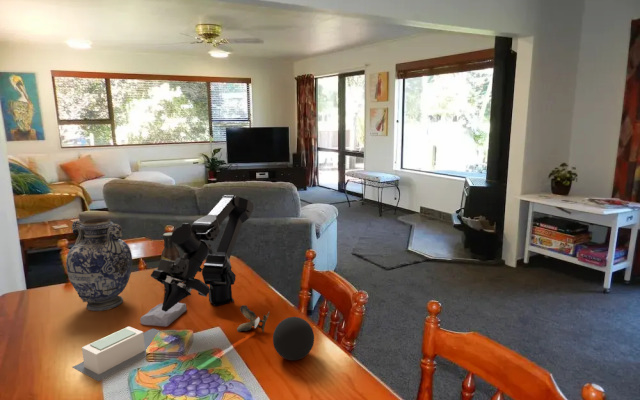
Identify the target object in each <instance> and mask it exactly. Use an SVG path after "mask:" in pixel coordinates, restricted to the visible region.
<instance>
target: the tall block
mask: <svg viewBox="0 0 640 400" xmlns="http://www.w3.org/2000/svg"><path fill="white" fill-rule="evenodd" d="M143 333H144V331H142V330H140V329H136V328H134V327H132V326H126V327H125V328H122V329H120V330H118V331H115V332H113V333H111V334H109V335H107V336H104V337H102V338H99V339H97V340H95V341H93V342H91V343H88V344H86V345H84V346H82V347H81V352H82V360H83V361H82V362H84V367H85V368H87V369H89V370H91V371H93V372H95V373H97V374H101V373H103V372H105V371H106V370H108V369H110V368H112V367H114V366H116V365H118V364H120V363H122V362H124V361H126V360H128V359H129V358H131V357H133V356H135V355H137V354H139V353H141V352H143V351H145V344H144V334H143Z"/></svg>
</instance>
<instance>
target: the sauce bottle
mask: <svg viewBox="0 0 640 400" xmlns="http://www.w3.org/2000/svg"><path fill="white" fill-rule="evenodd" d="M172 233H173V232H165V233H163V234H162V238H163V247H164V248H163V249H162V251H161V257H160V259H165V260H171V261H175V260H176V259H177V258H179V257H180V258H181V255H180V254H181V253H180V249H179V248H178V247H177V246H176V245H175V244H174V243H173V242H172V240H171V235H172ZM172 276H173V275H172ZM163 287H164V289H165V286H164V285H163Z"/></svg>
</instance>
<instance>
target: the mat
mask: <svg viewBox="0 0 640 400" xmlns="http://www.w3.org/2000/svg"><path fill="white" fill-rule="evenodd" d="M160 331H161V330H159V329H156V328H153V327H152V328H151V329H148V330H146V331H145V332H144V331H143V334H144V344H145V351H143V352H141V353H139V354H137V355H135V356H133V357H131V358H129V359H128V360H126V361H124V362H122V363H120V364H118V365H116V366H114V367H112V368H110V369H108V370H106V371H105V372H103V373H101V374H97V373H95V372H93V371H91V370H89V369H87V368H85V367H84V361H82V362H80V363H78V364H76V365H74V366H72V368H73V369H75V370H77V371H78V372H80V373H82V374H84V375H86V376H88V377H90V378H91V379H93V380H95V381H97V382H100V381H102V380H104V379H106V378H108V377H110V376H112V375H113V374H115V373H117V372H119V371H121V370H123V369H125V368H126V367H128V366H130V365H133V364H134V363H135V362H138V361H140V360H141V359H143V358H145V357H147V356H146V349H147V347H148V346H149V345H150V343H151V342H152V340H153V338H154V337H155V335H156V334H157V333H158V332H160Z"/></svg>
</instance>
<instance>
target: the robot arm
mask: <svg viewBox="0 0 640 400" xmlns="http://www.w3.org/2000/svg"><path fill="white" fill-rule="evenodd" d="M253 211H254V203H253V202H252V201H251V199H249V198H248V199H247V198H245V197H244V198H243V197H240V196H238V195H236V194H224V195H222V196H221V199H220V200H219V202H217V203H216V204H215V206H214V207H213V209H211V211H209V213H208V214H207V215H205V216H202V217H200V218H198V219H197V220H195V221H194V222H193V223H192V224H190V223H188V222H183V223H182V225H181V226H180V227H177V228H176V229H175V230H174V231H173V232H172V235H171V240H172V242H173V243H174V244H175V245H176V247H177V248H178V250H179V251H181V252H182V253H184V254H183V255H182V257H181V256H180V257H179V258H177V259H176V260H175V261H171V260H165V259H162V258H160V260H159V263H158V266H157V268H156V269H153V271H152V272H151V274H150V278H152V279H154V280H155V281H157V282H159V283H160V284H162V285H163V287H164V286H165V288H164V297H163V301H162V303H163V306H162V310H163V311H165V312H166V311H168V310H169V309H170V308H172V307H173V306H174V305H175V304H177V303H180V301H183V300H184V299H185V298H187V297H188V296H192V293H191V292H192V291H193V290H195V291H196V292H197V295H199V296H201V297H205V298H206V297H207V296H208V300H209V302H210V303H211V304H212V305H213V306H214V307H219V306H222V305H226V304H230V303H233V302H235V300H234V298H233V293H232V292H233V291H232V289H233V288H232V285H235V283H236V274H235V273H234V271H233V270H232V263H231V260H230V259H231V256H232V253H233V250H234V247H235V245H236V242H237V239H238V236H239V233H240V230H241V228H242V225H243V223H245V222H246V221H248V220H249V219H250V216H251V215H252V213H253ZM227 217H228V220H227V223H226V224H225V227H224V230H223V232H222V234H221V238H220V240H219V243H218V246H217V248H216V250H215V253H214V254H213V248H212V244H209V243H206V242H205V241H207V242H214V241H216V239H217V237H218V236H219V234H220V232H221V228H220V226H221V225H222V223H223V222H224V221H225V219H226V218H227ZM205 259H206V260H205ZM204 261H205V262H204ZM203 262H204V263H203ZM202 265H203V267H201V266H202ZM198 273H201V275H202V279H203V281H202V280H201V279H198V278H195V277H196V275H197V274H198ZM172 275H173V276H172Z"/></svg>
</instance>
